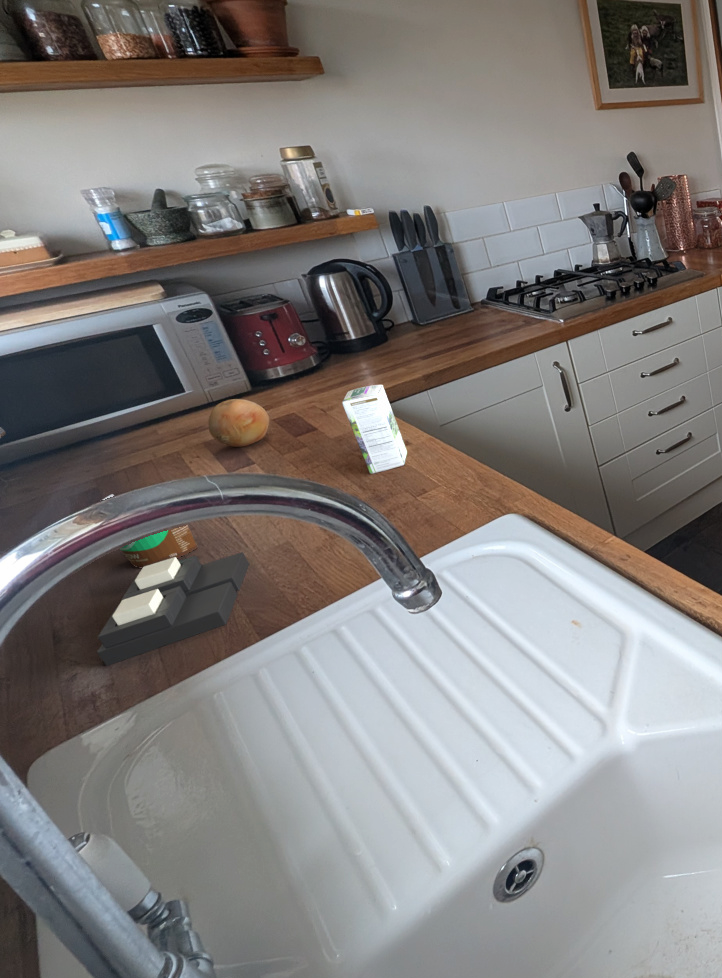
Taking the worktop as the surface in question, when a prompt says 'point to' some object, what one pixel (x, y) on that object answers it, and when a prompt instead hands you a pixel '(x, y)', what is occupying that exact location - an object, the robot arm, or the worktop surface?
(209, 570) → the key block
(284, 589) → the worktop surface
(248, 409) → the onion
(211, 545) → the worktop surface
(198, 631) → the key block
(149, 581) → the key rear
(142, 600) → the key front
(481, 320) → the worktop surface
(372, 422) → the syrup box
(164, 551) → the food container
